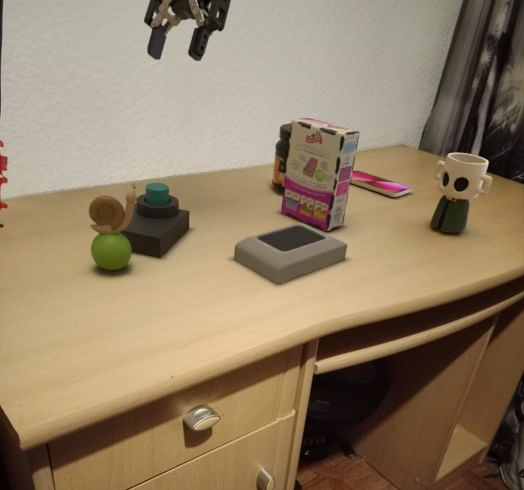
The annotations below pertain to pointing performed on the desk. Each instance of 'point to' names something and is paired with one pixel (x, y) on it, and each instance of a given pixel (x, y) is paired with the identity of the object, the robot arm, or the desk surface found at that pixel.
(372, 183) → the smartphone
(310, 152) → the candy bar box
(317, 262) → the grey bevelled block
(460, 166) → the character mug
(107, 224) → the snail figurine
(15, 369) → the desk surface
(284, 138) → the supplement container
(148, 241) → the black button base
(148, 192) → the push button
